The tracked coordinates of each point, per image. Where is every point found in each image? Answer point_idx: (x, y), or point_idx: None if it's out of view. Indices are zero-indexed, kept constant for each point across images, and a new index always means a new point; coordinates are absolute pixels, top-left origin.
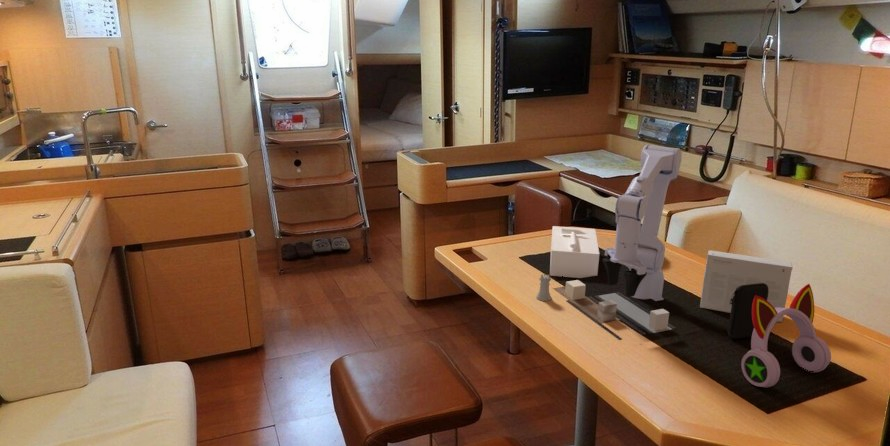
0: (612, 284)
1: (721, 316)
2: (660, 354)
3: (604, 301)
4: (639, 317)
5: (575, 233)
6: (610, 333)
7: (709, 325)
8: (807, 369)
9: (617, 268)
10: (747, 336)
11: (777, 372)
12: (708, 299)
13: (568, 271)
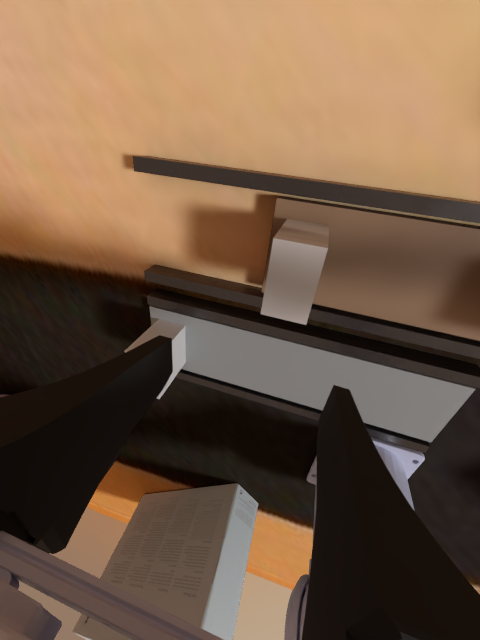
0: (327, 400)
1: (191, 471)
2: (70, 235)
3: (315, 283)
4: (244, 354)
5: None
6: (188, 163)
7: (168, 432)
8: (2, 395)
9: (321, 541)
10: None
11: None
12: (220, 506)
13: None
